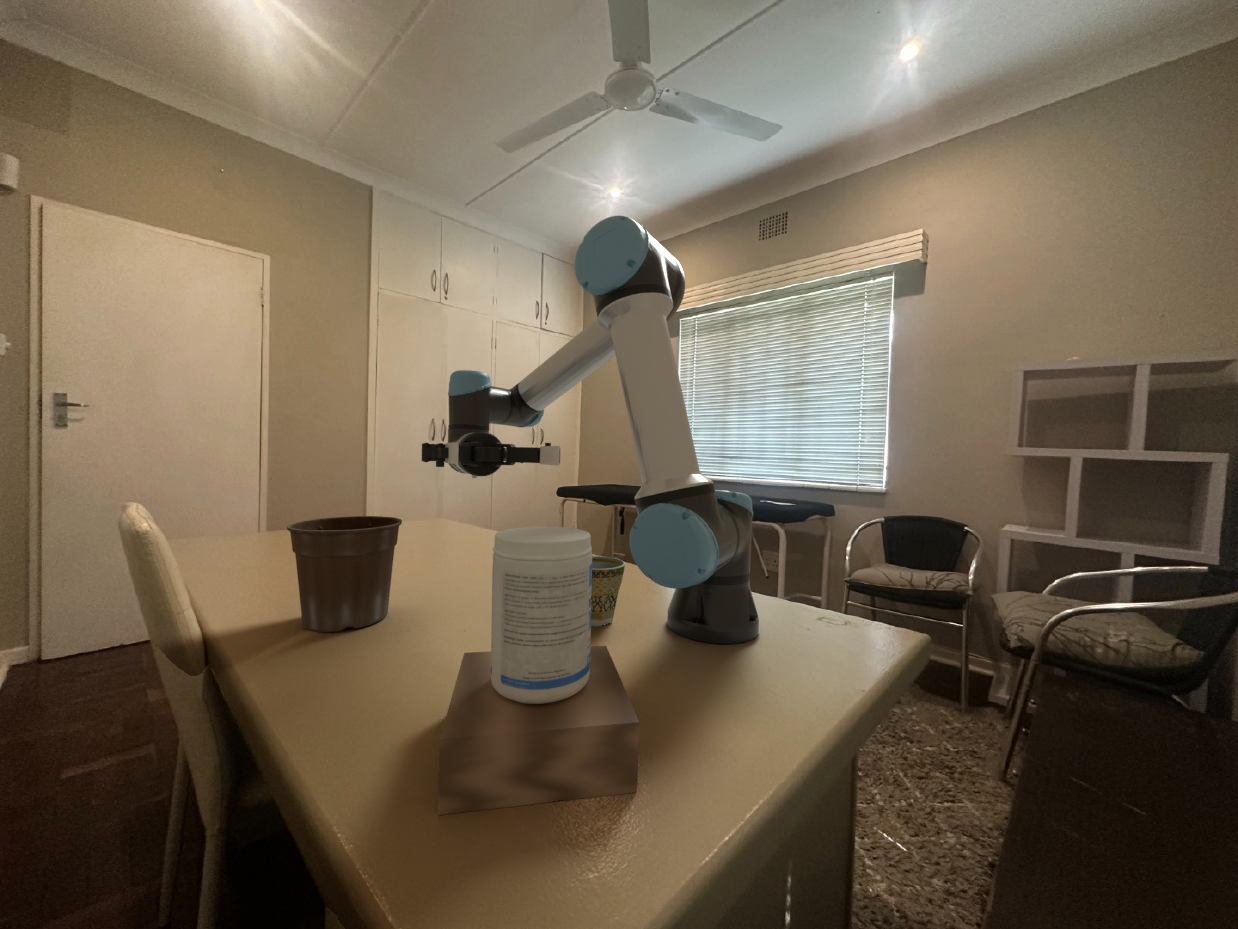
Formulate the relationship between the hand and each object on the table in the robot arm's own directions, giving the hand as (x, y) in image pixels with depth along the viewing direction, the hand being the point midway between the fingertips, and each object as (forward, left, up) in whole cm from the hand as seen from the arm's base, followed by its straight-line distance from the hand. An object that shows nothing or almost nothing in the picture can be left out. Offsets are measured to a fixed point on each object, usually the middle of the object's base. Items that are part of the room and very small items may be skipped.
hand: (508, 454), depth 63 cm
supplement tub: (-4, +18, -22) cm, 29 cm away
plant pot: (+26, -20, -28) cm, 43 cm away
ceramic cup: (-15, -17, -28) cm, 36 cm away
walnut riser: (-4, +18, -28) cm, 34 cm away
